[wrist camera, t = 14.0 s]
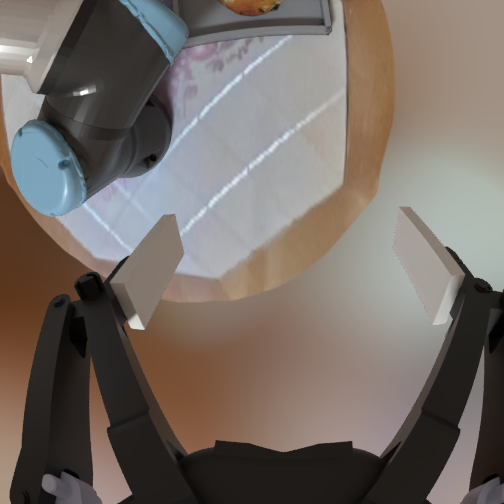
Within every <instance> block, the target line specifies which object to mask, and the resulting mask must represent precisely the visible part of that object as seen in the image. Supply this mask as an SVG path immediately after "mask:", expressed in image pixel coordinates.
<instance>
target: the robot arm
mask: <svg viewBox="0 0 504 504" xmlns="http://www.w3.org/2000/svg"><path fill="white" fill-rule="evenodd" d="M188 35H189V31H188V27H187V25H186V23H185V22H184V21H183V20H182V19H181V18H180V17H179V16H178V15H177V14H176V13H174V12H173V11H172V10H171V9H169V8H168V7H167V6H165V5H164V4H162V3H161V2H159V1H158V0H0V74H6V75H17V76H23V77H24V78H25V79H26V80H27V83H28V85H29V87H30V89H31V91H32V93H35V94H43V95H46V96H45V98H44V101H43V104H42V107H41V109H40V112H39V115H38V118H37V119H33V120H30V121H28V122H27V123H26V124H25V125H24V126H23V127H22V128H20V129H19V130H18V132H17V133H16V135H15V137H14V139H13V143H12V148H11V165H12V171H13V175H14V178H15V180H16V182H17V185H18V188H19V190H20V191H21V193H22V195H23V196H24V198H25V199H26V200H27V202H28V203H29V204H30V205H31V206H32V207H33V208H35V209H36V210H37V211H39V212H40V213H42V214H45V215H47V216H53V217H55V216H62V215H64V214H66V213H68V212H70V211H72V210H74V209H75V208H78V207H80V206H81V205H82V204H83V203H84V202H85V201H86V200H87V199H89V198H90V197H91V196H93V195H94V194H96V193H97V192H99V191H100V190H101V189H103V188H104V187H106V186H107V185H109V184H110V183H112V182H113V181H115V180H116V179H117V178H132V177H137V176H140V175H142V174H144V173H146V172H148V171H149V170H151V169H152V168H154V167H155V166H156V165H157V164H158V163H159V162H160V161H161V160H162V159H163V157H164V156H165V154H166V152H167V150H168V147H169V144H170V139H171V124H170V119H169V116H168V113H167V111H166V109H165V108H164V106H163V105H162V103H161V102H160V101H159V100H158V99H157V98H156V97H155V96H153V95H151V94H152V92H153V91H154V89H155V87H156V86H157V84H158V83H159V81H160V80H161V78H162V77H163V75H164V74H165V72H166V71H167V69H168V68H169V66H172V65H173V63H174V59H175V57H176V55H177V54H178V52H179V51H180V49H181V48H182V47H183V45H184V44H185V42H186V41H187V38H188ZM393 249H394V251H395V253H396V255H397V256H398V258H399V260H400V262H401V264H402V265H403V267H404V269H405V271H406V273H407V275H408V277H409V278H410V280H411V282H412V284H413V286H414V288H415V290H416V292H417V294H418V296H419V298H420V300H421V302H422V304H423V306H424V309H425V311H426V313H427V315H428V317H429V319H430V322H431V323H432V325H437V324H444V323H446V320H447V318H448V316H449V314H450V315H451V317H452V318H453V321H452V323H451V325H450V327H449V329H448V331H447V333H446V335H445V337H446V338H445V340H444V343H443V345H442V348H441V350H440V353H439V355H438V357H437V359H436V362H435V364H434V366H433V368H432V371H431V373H430V375H429V377H428V379H427V381H426V383H425V385H424V387H423V389H422V391H421V393H420V395H419V397H418V398H417V400H416V402H415V404H414V406H413V408H412V409H411V411H410V413H409V415H408V416H407V418H406V420H405V421H404V423H403V425H402V426H401V428H400V429H399V431H398V433H397V434H396V436H395V437H394V439H393V440H392V442H391V443H390V444H389V446H388V447H387V448H386V450H385V451H384V452H383V453H382V454H381V456H380V457H378V456H376V455H374V454H372V453H370V452H367V451H365V450H360V449H356V448H353V447H352V441H348V442H336V443H323V444H316V445H313V446H309V447H305V448H301V449H297V450H293V451H289V452H279V451H275V450H271V449H267V448H263V447H260V446H256V445H253V444H250V443H238V442H227V441H218V440H216V442H215V447H213V448H206V449H202V450H199V451H196V452H194V453H191V454H189V455H188V453H187V452H186V451H185V449H184V448H183V447H182V445H181V444H180V442H179V441H178V439H177V438H176V436H175V434H174V432H173V431H172V429H171V427H170V425H169V423H168V421H167V420H166V418H165V416H164V414H163V412H162V410H161V408H160V406H159V404H158V402H157V400H156V399H155V396H154V394H153V392H152V390H151V388H150V386H149V384H148V381H147V379H146V377H145V375H144V373H143V370H142V368H141V366H140V363H139V361H138V359H137V356H136V354H135V352H134V349H133V347H132V344H131V342H130V339H129V336H128V334H127V331H126V330H125V327H124V324H125V322H126V320H127V321H128V323H129V325H130V327H131V328H134V329H143V330H144V329H145V328H146V326H147V324H148V322H149V320H150V318H151V316H152V314H153V312H154V310H155V308H156V306H157V304H158V302H159V300H160V298H161V296H162V294H163V292H164V290H165V289H166V287H167V285H168V283H169V281H170V279H171V277H172V275H173V273H174V272H175V270H176V268H177V266H178V264H179V262H180V261H181V259H182V257H183V255H184V250H183V246H182V242H181V238H180V234H179V229H178V225H177V221H176V216H175V214H170V215H163V216H162V217H161V219H160V220H159V221H158V222H157V223H156V224H155V226H154V227H153V228H152V229H151V230H150V232H149V233H148V234H147V235H146V236H145V238H144V239H143V240H142V241H141V243H140V244H139V245H138V246H137V248H136V249H135V250H134V251H133V253H132V254H131V255H130V256H127V257H126V258H124V259H123V260H122V261H120V263H119V264H118V265H117V266H116V268H115V269H114V270H113V271H112V273H111V274H110V275H109V277H108V278H107V279H106V281H105V282H104V283H103V282H102V280H101V278H100V276H99V274H98V273H97V272H89V273H86V274H84V275H83V276H81V277H80V278H78V279H77V281H76V282H75V285H74V287H75V289H76V291H77V293H78V295H79V296H80V298H81V300H78V301H73V302H72V301H71V298H70V297H69V295H67V294H61V295H59V296H56V297H55V298H53V300H52V301H51V302H50V303H49V306H48V309H47V312H46V315H45V318H44V322H43V325H42V328H41V332H40V335H39V340H38V343H37V347H36V351H35V355H34V360H33V364H32V369H31V374H30V379H29V384H28V391H27V397H26V404H25V411H24V421H23V432H22V448H21V451H20V455H19V458H18V461H17V465H16V468H15V472H14V476H13V480H12V484H11V488H10V501H11V504H102V501H101V499H100V498H99V497H98V496H97V493H96V491H95V490H94V489H93V465H92V454H91V441H90V423H89V379H90V359H91V357H92V361H93V365H94V370H95V374H96V378H97V381H98V385H99V389H100V392H101V395H102V399H103V402H104V405H105V409H106V412H107V414H108V418H109V421H110V424H111V425H110V427H108V428H107V433H108V437H109V440H110V443H111V445H112V448H113V451H114V453H115V456H116V458H117V461H118V463H119V465H120V468H121V470H122V473H123V474H124V477H125V479H126V481H127V483H128V486H129V488H130V490H131V492H132V495H131V496H129V497H127V498H126V499H124V500H123V501H121V502H120V503H118V504H431V503H430V502H429V501H428V500H427V499H426V498H427V496H428V494H429V493H430V491H431V489H432V488H433V486H434V484H435V483H436V481H437V479H438V478H439V476H440V474H441V472H442V470H443V469H444V467H445V465H446V463H447V461H448V459H449V457H450V455H451V452H452V451H453V449H454V447H455V444H456V442H457V440H458V437H459V435H460V429H459V428H458V424H459V421H460V419H461V416H462V414H463V411H464V408H465V406H466V403H467V400H468V397H469V395H470V392H471V389H472V386H473V382H474V379H475V376H476V373H477V369H478V365H479V362H480V358H481V354H482V350H483V346H484V361H485V362H484V366H485V367H484V394H483V406H482V416H481V425H480V431H479V438H478V444H477V449H476V454H475V459H474V463H473V469H472V473H471V479H470V486H469V493H468V494H467V495H466V496H465V497H464V499H463V501H462V502H461V503H460V504H504V290H503V292H497V291H493V290H492V287H491V286H490V284H488V282H486V281H484V280H483V279H480V278H474V276H473V275H472V274H471V272H470V271H469V270H468V268H467V267H466V266H465V264H463V262H462V260H461V259H459V257H458V256H457V254H456V253H455V252H454V251H453V250H451V249H450V248H449V247H444V246H443V245H442V243H441V242H440V241H439V240H438V239H437V237H436V236H435V235H434V234H433V232H432V231H431V230H430V229H429V228H428V227H427V225H426V224H425V223H424V222H423V221H422V220H421V219H420V217H419V216H418V215H417V214H416V213H415V212H414V211H413V210H412V209H411V208H410V207H399V209H398V217H397V224H396V230H395V237H394V242H393Z"/></svg>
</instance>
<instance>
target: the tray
mask: <svg viewBox="0 0 504 504" xmlns="http://www.w3.org/2000/svg"><path fill="white" fill-rule="evenodd" d="M172 2H173V12H174V13H176V14H177V15H178V16H179V17H180V18H181V19H182V20H183V21H184V22H185V23H186V25H187V27H188V31H189V35H188V38H187V41H186V42H185V44H184V45H183V47H182V48H183V49H184V48H189V47H193V46H198V45H203V44H209V43H214V42H220V41H227V40H234V39H242V38H251V37H262V36H277V35H329V34H330V33H331V32H332V27H331V20H330V13H329V6H328V0H285V1H284V2H282V3H281V4H278V10H276V11H271V12H269V13H267V14H264V15H259V16H255V17H250V16H241V15H238V14H236V13H234V12H233V11H231V10H230V9H227V8H226V7H225V6H224V5H223V4H221V3H220V2H219V1H218V0H172Z"/></svg>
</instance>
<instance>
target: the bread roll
mask: <svg viewBox="0 0 504 504" xmlns="http://www.w3.org/2000/svg"><path fill="white" fill-rule="evenodd" d="M218 1H219V2H220V3H221V4H223V5H224V6H225V7H226V8H227V9H230V10H231V11H233V12H234V13H236V14H238V15H241V16H250V17H255V16H259V15H264V14H267V13H269V12H271V11H276V10H278V4H281V3H282V2H284V1H285V0H218Z"/></svg>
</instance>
